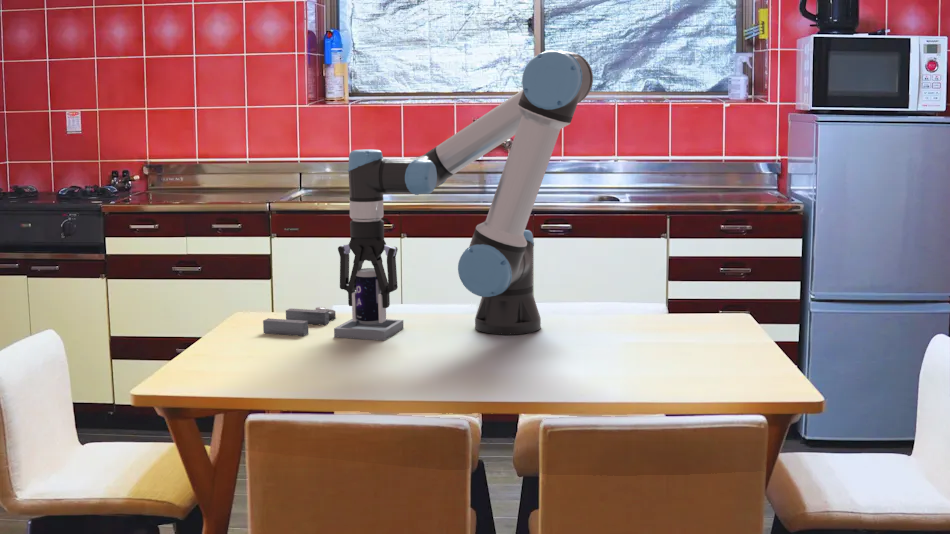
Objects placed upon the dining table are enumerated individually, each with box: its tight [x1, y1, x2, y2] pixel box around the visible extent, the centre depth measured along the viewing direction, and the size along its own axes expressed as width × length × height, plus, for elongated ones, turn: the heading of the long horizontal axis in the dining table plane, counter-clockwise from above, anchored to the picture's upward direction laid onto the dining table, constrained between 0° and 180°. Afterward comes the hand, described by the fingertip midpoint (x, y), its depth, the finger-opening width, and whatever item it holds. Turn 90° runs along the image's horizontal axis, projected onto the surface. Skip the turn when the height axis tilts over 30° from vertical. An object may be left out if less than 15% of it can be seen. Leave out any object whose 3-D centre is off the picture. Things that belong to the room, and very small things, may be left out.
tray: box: [333, 318, 404, 341], centre depth 249 cm, size 12×12×2 cm
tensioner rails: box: [262, 306, 337, 337], centre depth 258 cm, size 10×21×3 cm, turn 163°
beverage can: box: [355, 267, 381, 324], centre depth 248 cm, size 6×6×12 cm
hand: (369, 320), depth 249 cm, fingers closed on beverage can, 6 cm apart
